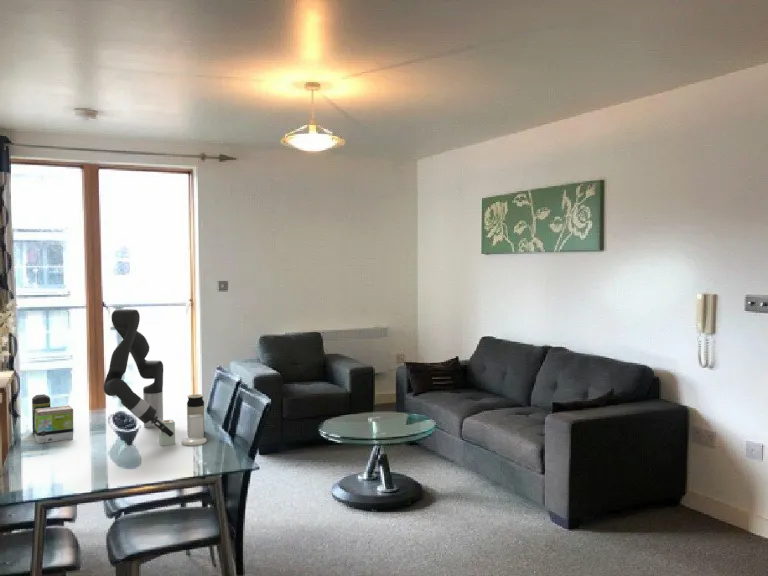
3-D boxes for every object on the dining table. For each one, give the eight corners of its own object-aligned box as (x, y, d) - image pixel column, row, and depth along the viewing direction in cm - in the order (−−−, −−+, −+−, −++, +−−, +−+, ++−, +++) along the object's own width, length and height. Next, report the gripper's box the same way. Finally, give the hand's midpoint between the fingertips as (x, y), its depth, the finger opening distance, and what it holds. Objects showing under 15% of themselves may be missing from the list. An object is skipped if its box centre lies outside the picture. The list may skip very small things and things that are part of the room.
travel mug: (194, 435, 312) (193, 397, 311) (184, 432, 316) (183, 395, 316) (208, 431, 318) (207, 395, 317) (197, 429, 323) (197, 393, 322)
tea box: (38, 444, 298) (37, 412, 297) (34, 439, 306) (33, 408, 305) (74, 439, 307) (73, 407, 306) (69, 435, 315) (69, 404, 314)
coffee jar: (52, 433, 317) (51, 395, 316) (33, 436, 313) (32, 397, 312) (49, 429, 325) (49, 392, 324) (31, 432, 321) (30, 394, 320)
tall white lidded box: (187, 436, 310) (187, 415, 310) (200, 434, 313) (200, 413, 313) (190, 439, 305) (190, 417, 304) (203, 437, 308) (203, 416, 307)
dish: (179, 441, 300) (179, 439, 300) (203, 438, 306) (203, 435, 306) (184, 447, 291) (184, 444, 291) (209, 443, 296) (208, 441, 296)
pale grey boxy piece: (159, 442, 299) (158, 420, 298) (172, 441, 301) (172, 418, 301) (161, 445, 293) (160, 422, 293) (175, 444, 296) (174, 421, 296)
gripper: (151, 406, 287) (179, 430, 293) (146, 401, 300) (173, 423, 306) (138, 420, 285) (167, 443, 291) (134, 414, 297) (162, 436, 303)
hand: (170, 433), depth 298 cm, fingers closed on pale grey boxy piece, 6 cm apart
